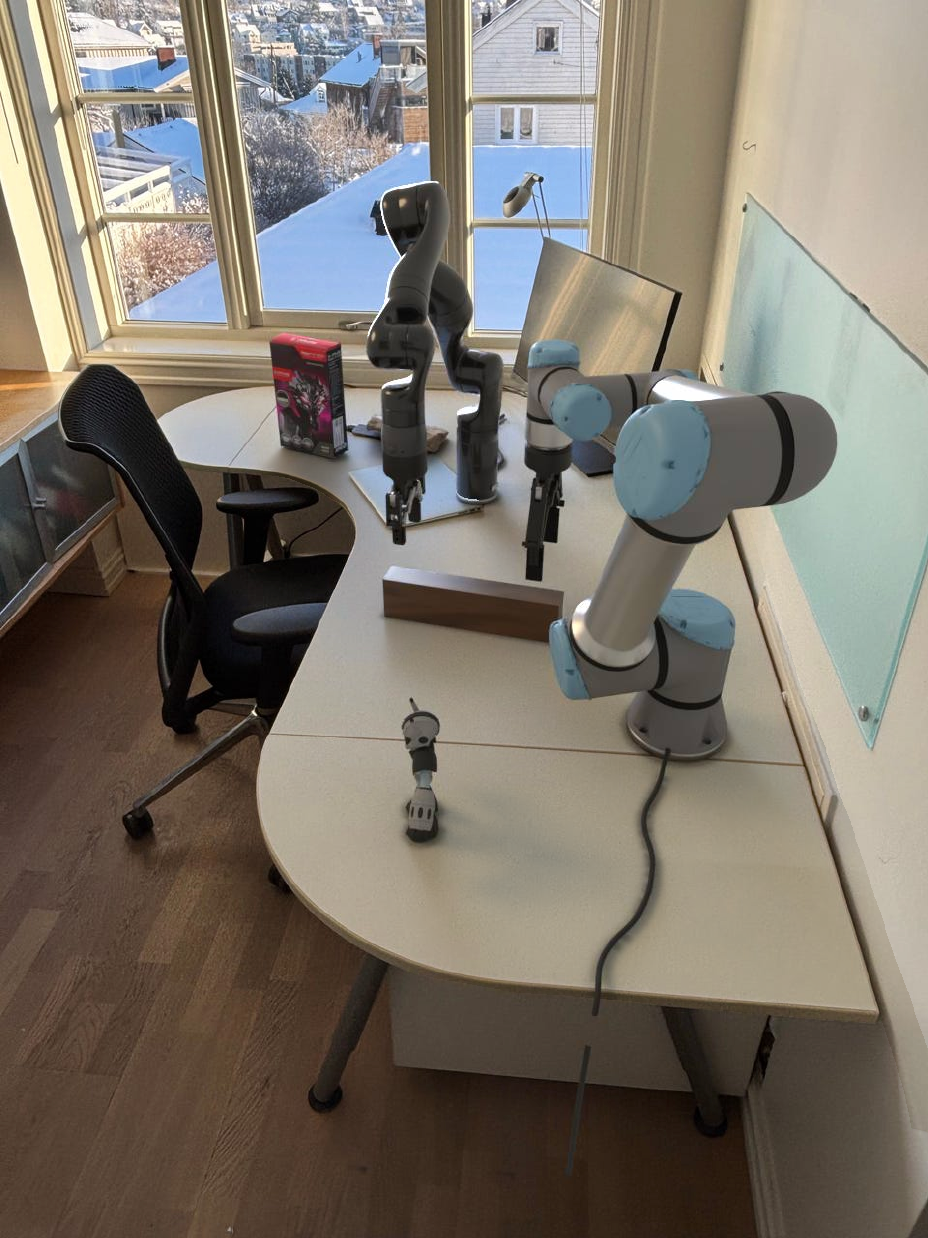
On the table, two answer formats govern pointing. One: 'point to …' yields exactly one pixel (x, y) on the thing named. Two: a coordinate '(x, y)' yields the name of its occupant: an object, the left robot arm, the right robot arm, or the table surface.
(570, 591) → the table surface
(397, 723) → the table surface
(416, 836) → the robot
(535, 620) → the walnut beam
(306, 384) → the graphics card box
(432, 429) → the stone
